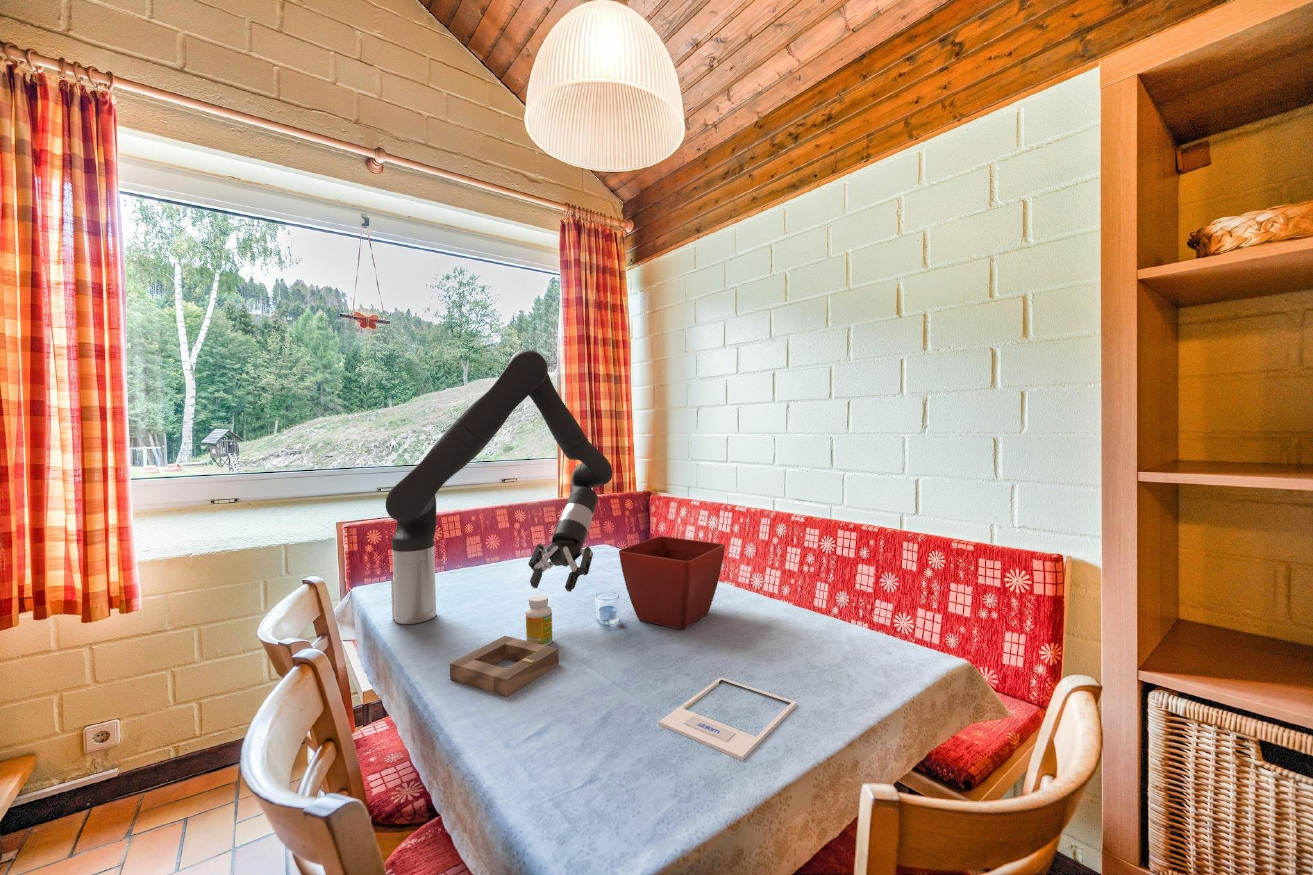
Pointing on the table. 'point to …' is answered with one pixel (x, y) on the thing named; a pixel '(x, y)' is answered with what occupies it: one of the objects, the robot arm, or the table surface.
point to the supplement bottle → (539, 620)
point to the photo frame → (719, 726)
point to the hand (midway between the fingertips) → (550, 588)
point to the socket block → (499, 680)
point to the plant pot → (672, 579)
